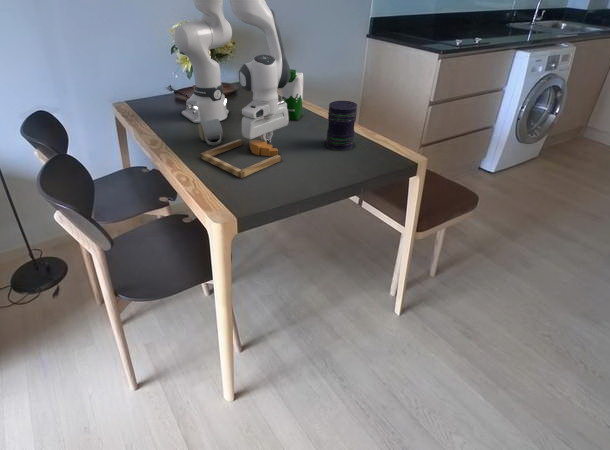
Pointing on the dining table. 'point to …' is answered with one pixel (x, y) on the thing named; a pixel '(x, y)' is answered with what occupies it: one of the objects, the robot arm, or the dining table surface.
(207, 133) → the ceramic mug
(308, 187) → the dining table surface
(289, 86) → the milk carton
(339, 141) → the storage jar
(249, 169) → the oak frame
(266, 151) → the orange block cluster
